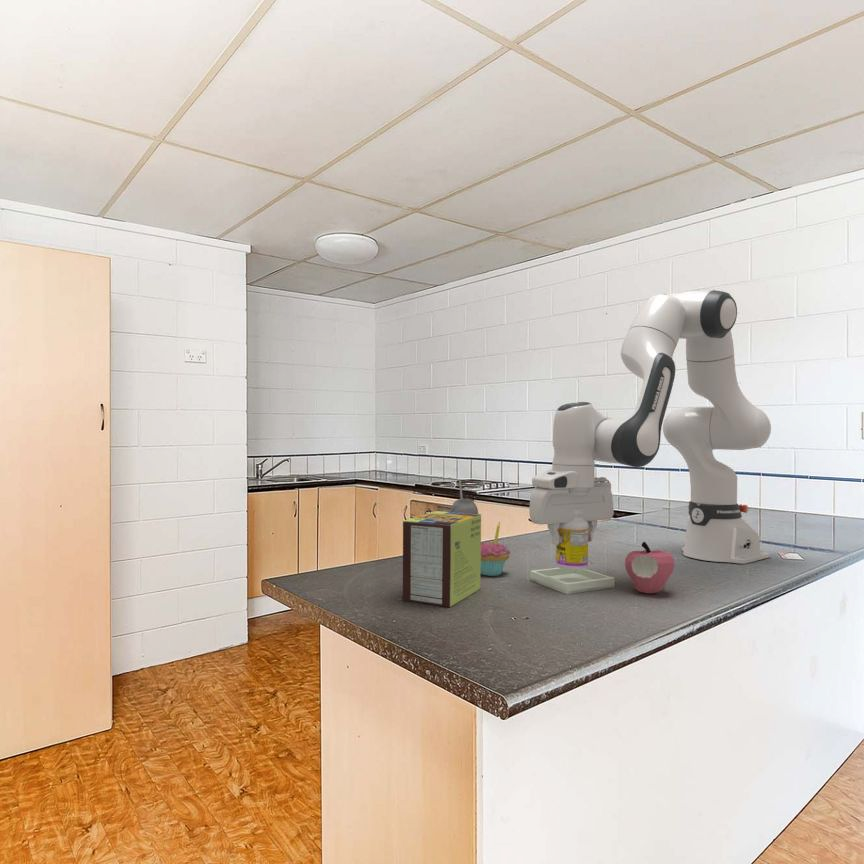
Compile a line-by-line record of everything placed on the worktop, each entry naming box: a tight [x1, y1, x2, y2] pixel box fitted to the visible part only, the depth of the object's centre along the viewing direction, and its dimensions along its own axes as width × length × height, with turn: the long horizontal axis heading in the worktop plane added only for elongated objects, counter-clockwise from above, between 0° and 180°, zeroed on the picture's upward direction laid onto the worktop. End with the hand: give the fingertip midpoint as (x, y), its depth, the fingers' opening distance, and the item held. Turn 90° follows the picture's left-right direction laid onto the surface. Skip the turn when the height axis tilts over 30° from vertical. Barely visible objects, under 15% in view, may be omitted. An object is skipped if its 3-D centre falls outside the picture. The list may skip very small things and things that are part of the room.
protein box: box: [402, 510, 482, 608], centre depth 126 cm, size 10×15×16 cm
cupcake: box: [480, 521, 511, 577], centre depth 144 cm, size 9×8×12 cm
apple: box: [624, 541, 675, 595], centre depth 129 cm, size 10×9×10 cm
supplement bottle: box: [555, 509, 589, 571], centre depth 135 cm, size 7×7×13 cm
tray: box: [529, 567, 616, 595], centre depth 135 cm, size 13×13×2 cm
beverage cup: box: [449, 479, 479, 514], centre depth 157 cm, size 7×7×20 cm
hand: (572, 542), depth 135 cm, fingers closed on supplement bottle, 7 cm apart
